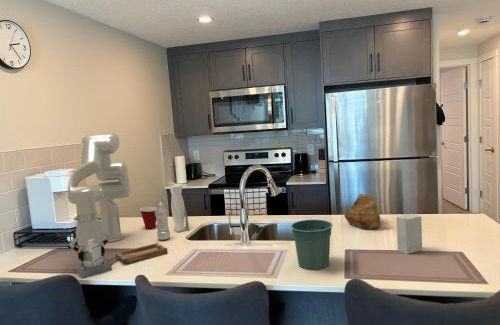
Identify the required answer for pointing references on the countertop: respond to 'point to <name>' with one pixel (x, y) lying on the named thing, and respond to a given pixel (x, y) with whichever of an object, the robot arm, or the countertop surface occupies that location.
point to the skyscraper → (178, 208)
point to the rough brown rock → (363, 213)
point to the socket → (93, 268)
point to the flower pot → (312, 243)
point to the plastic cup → (149, 217)
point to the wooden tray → (141, 253)
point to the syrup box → (92, 254)
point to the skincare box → (409, 233)
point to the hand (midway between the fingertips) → (92, 258)
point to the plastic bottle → (162, 221)
